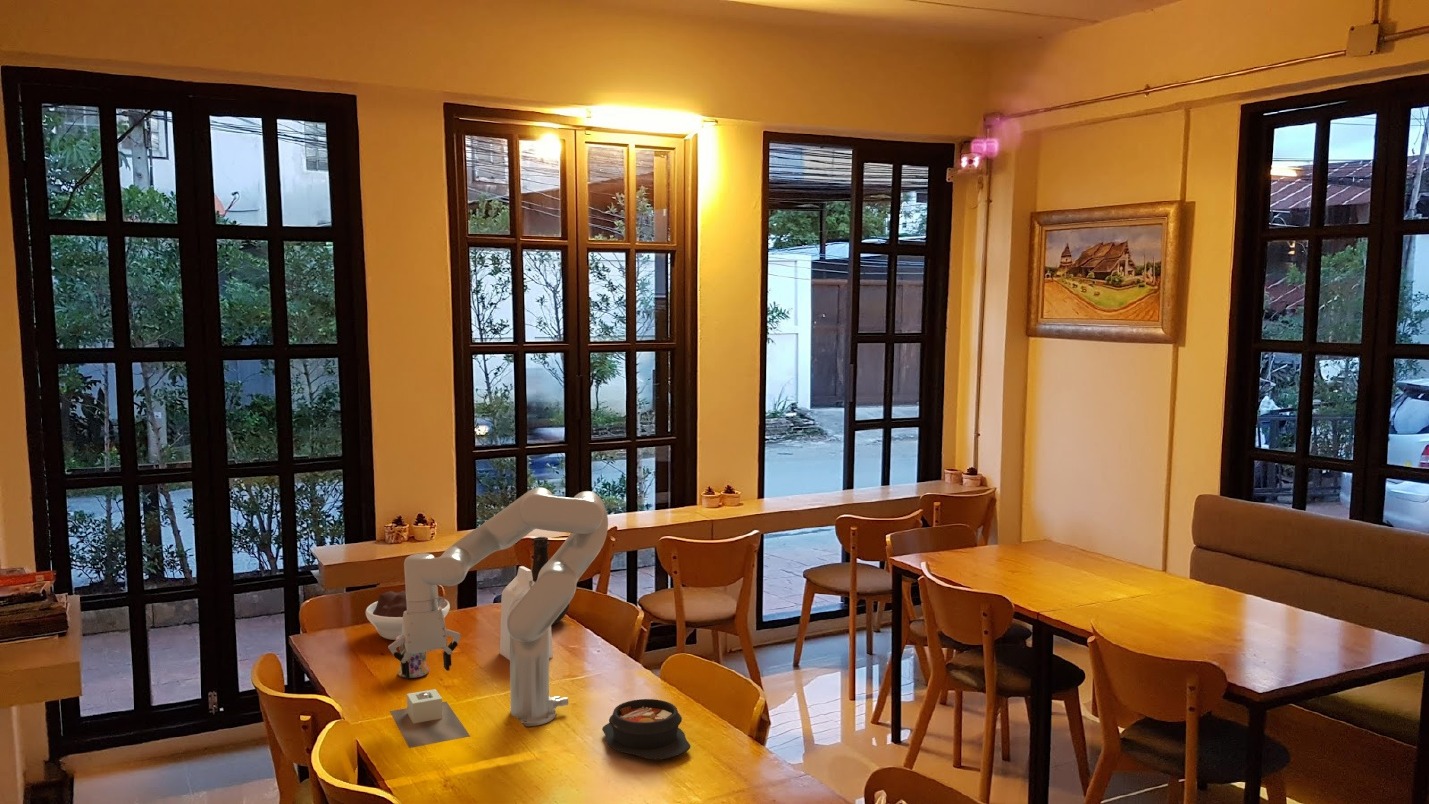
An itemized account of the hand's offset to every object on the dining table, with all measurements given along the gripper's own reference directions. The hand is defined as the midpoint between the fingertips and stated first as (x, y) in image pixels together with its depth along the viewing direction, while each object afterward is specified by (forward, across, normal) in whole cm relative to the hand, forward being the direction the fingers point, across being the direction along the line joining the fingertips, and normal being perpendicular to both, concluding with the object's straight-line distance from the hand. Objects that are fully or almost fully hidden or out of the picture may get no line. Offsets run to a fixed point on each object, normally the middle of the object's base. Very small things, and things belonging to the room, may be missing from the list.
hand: (427, 673), depth 252 cm
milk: (+13, -36, -36) cm, 53 cm away
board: (+12, +1, +4) cm, 13 cm away
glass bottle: (+14, -50, -64) cm, 83 cm away
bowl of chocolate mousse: (+12, -9, -70) cm, 72 cm away
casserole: (+15, -42, +36) cm, 57 cm away
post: (+11, +1, -2) cm, 11 cm away
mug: (+12, -3, -36) cm, 39 cm away
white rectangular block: (+11, +1, 0) cm, 11 cm away
